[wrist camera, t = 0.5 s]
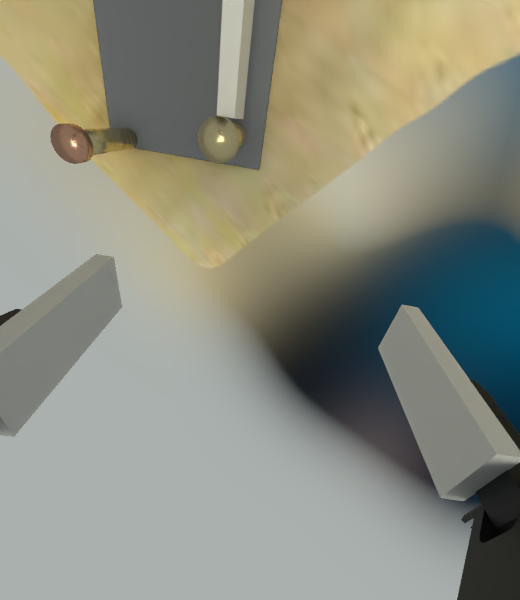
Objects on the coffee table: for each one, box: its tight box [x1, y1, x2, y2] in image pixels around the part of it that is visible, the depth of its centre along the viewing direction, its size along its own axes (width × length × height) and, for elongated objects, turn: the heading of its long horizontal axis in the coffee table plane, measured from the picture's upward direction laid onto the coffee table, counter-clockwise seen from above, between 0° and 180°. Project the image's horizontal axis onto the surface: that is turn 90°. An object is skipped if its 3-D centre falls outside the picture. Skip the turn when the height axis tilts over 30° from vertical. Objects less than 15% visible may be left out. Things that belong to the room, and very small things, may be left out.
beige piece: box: [217, 0, 255, 119], centre depth 22 cm, size 12×2×7 cm, turn 171°
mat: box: [93, 0, 282, 170], centre depth 27 cm, size 15×17×1 cm
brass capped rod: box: [51, 124, 138, 164], centre depth 27 cm, size 3×3×11 cm
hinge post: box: [198, 116, 247, 163], centre depth 26 cm, size 3×3×11 cm
